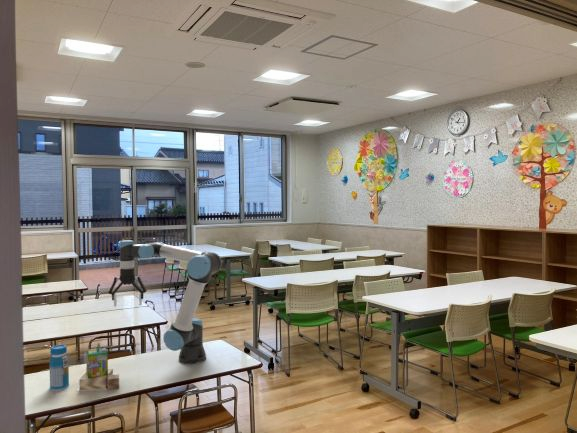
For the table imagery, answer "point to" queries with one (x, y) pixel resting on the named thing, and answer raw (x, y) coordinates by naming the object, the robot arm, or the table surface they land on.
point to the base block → (94, 381)
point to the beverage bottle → (59, 368)
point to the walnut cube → (113, 382)
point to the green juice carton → (97, 362)
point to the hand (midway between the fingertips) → (128, 305)
